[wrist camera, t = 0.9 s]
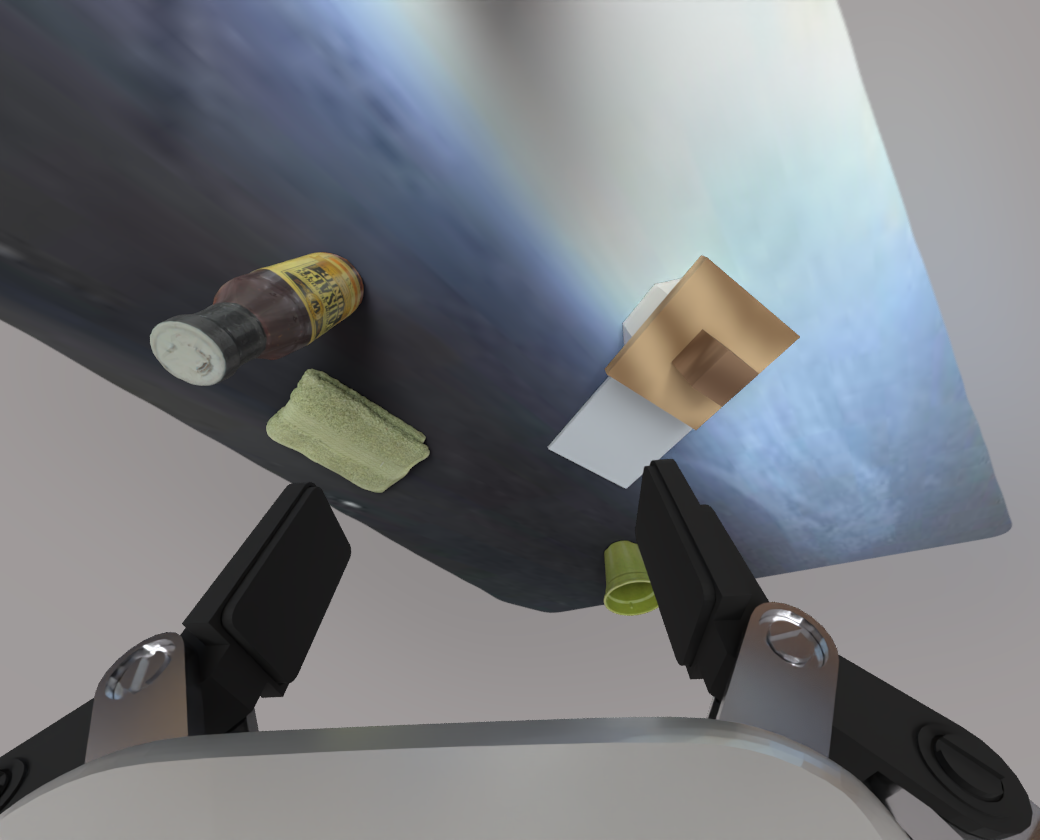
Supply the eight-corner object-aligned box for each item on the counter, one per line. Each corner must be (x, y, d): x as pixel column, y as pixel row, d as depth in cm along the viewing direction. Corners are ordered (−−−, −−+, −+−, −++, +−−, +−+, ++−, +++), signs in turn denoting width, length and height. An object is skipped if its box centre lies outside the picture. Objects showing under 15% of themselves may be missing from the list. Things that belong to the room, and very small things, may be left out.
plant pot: (587, 541, 61) (597, 590, 54) (643, 527, 59) (660, 575, 52) (602, 572, 66) (612, 620, 59) (653, 559, 64) (671, 608, 57)
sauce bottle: (375, 308, 39) (273, 407, 23) (319, 314, 39) (178, 416, 23) (353, 242, 35) (212, 301, 19) (291, 249, 36) (100, 314, 19)
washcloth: (384, 489, 55) (378, 505, 52) (269, 422, 48) (254, 436, 45) (438, 440, 50) (433, 455, 47) (317, 356, 43) (304, 368, 40)
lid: (701, 255, 32) (737, 270, 27) (792, 332, 36) (838, 358, 31) (604, 369, 38) (618, 399, 33) (691, 424, 42) (716, 459, 37)
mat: (616, 367, 43) (617, 370, 43) (697, 420, 48) (699, 422, 47) (548, 446, 50) (548, 449, 49) (625, 485, 54) (626, 488, 54)
